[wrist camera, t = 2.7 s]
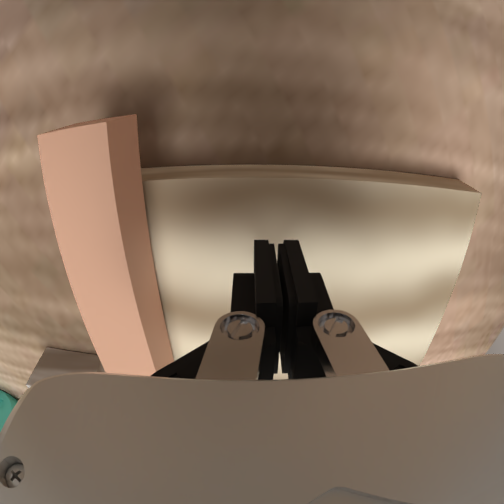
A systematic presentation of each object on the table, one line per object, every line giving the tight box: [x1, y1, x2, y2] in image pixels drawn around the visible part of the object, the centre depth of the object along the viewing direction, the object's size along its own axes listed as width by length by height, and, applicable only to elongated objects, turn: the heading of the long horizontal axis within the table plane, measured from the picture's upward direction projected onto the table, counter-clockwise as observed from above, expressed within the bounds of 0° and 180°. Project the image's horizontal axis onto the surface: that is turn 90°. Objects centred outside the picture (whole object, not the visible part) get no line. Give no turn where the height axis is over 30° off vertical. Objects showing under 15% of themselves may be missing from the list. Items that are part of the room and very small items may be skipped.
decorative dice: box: [0, 390, 18, 432], centre depth 25 cm, size 8×8×8 cm
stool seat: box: [26, 165, 482, 388], centre depth 17 cm, size 17×30×4 cm, turn 90°
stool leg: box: [37, 114, 174, 376], centre depth 14 cm, size 17×3×3 cm, turn 0°
